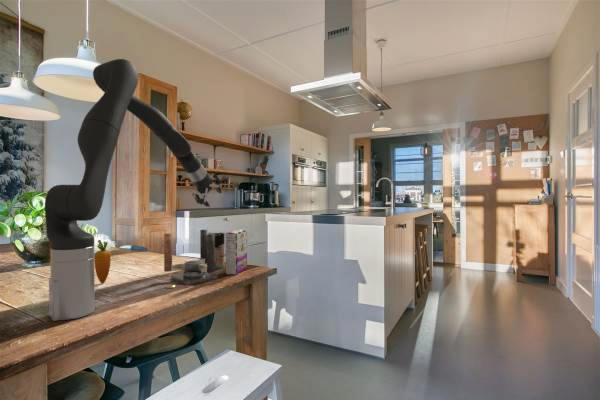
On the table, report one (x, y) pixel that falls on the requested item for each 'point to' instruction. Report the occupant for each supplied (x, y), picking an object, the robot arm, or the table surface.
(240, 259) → the candy bar box
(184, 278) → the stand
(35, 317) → the table surface
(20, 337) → the table surface
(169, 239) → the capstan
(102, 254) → the carrot
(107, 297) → the table surface
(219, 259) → the dark printed box
